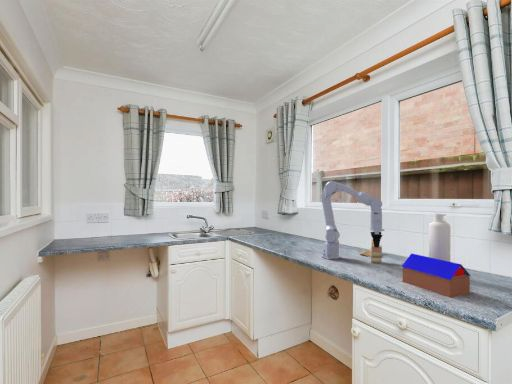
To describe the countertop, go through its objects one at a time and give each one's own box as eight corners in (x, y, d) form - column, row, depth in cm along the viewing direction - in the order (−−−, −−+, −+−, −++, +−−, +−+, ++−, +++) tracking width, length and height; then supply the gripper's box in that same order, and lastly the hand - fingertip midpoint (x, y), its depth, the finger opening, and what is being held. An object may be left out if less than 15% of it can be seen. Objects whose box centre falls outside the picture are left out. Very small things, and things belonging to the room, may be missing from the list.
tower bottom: (381, 264, 148) (381, 258, 148) (371, 263, 149) (371, 257, 149) (380, 261, 152) (380, 256, 152) (370, 261, 154) (370, 255, 154)
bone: (387, 251, 171) (376, 255, 161) (375, 260, 176) (364, 264, 166) (376, 237, 176) (365, 240, 166) (364, 246, 181) (353, 249, 171)
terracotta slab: (381, 252, 148) (381, 247, 148) (371, 251, 149) (371, 246, 149) (381, 250, 152) (381, 245, 152) (371, 250, 154) (371, 244, 154)
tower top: (381, 258, 148) (381, 252, 148) (371, 257, 149) (371, 251, 149) (380, 256, 152) (380, 250, 152) (370, 255, 154) (371, 250, 154)
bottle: (443, 280, 120) (443, 215, 120) (425, 275, 127) (425, 213, 127) (454, 277, 123) (454, 214, 124) (435, 273, 131) (435, 213, 131)
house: (450, 298, 99) (450, 265, 99) (401, 282, 117) (401, 254, 117) (471, 294, 104) (471, 262, 104) (421, 279, 122) (421, 252, 122)
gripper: (385, 222, 143) (385, 249, 143) (383, 220, 156) (383, 244, 156) (370, 221, 145) (370, 248, 145) (369, 219, 159) (369, 243, 159)
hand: (376, 246), depth 151 cm, fingers open, 7 cm apart
